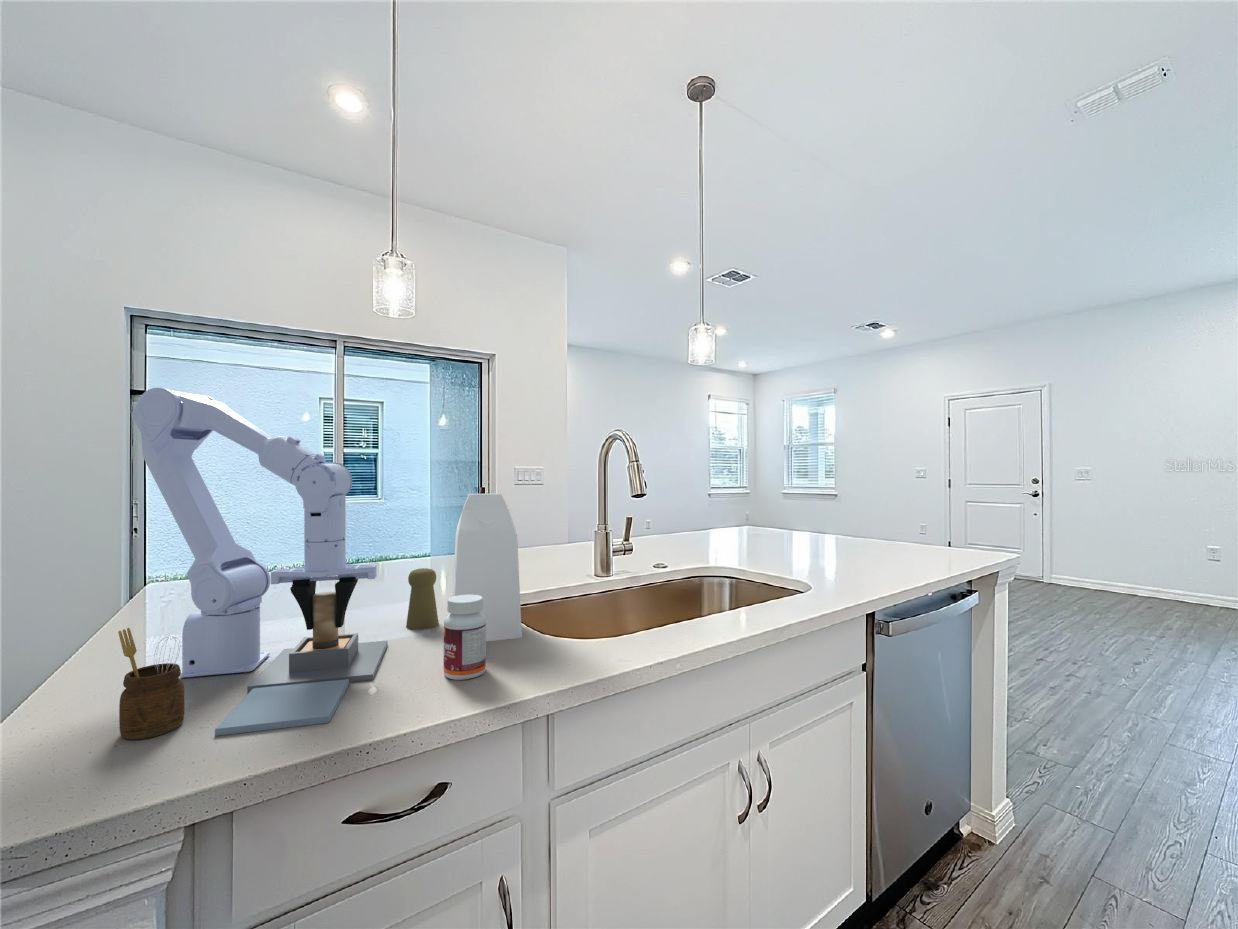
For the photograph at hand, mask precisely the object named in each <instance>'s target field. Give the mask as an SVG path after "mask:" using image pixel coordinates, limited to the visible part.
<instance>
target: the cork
mask: <svg viewBox="0 0 1238 929" xmlns="http://www.w3.org/2000/svg"><path fill="white" fill-rule="evenodd" d="M436 573H437V572H436V571H435V570H434V569H433V568H432V569H431V568H427V567H424V568H421V567H420V568H417V569H413V570H411V571H410V572H409V574H408V577H407V579H408V581H407V582H408V584H409V586H410V587H411V588H410V596H409V603H408V611H407V617H406V626H405V627H406V628H407V629H409V630H414V631H416V630H417V631H418V630H419V631H420V630H422V631H423V630H428V629H433V628H435V627H437V626H439V624H440V623H439V617H438V616H439V615H438V610H437V608H438V607H437V602H436V594H435V586H434V585H435V584H436V582H437V574H436Z"/></svg>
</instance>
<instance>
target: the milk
mask: <svg viewBox="0 0 1238 929" xmlns="http://www.w3.org/2000/svg"><path fill="white" fill-rule="evenodd" d="M518 541H519V540H518V534H517V531H516V527H515V524H514V521H513V518H512V516H511V513H510V509H509V508H508V505H507V503H506V501H505V499H504V496H503V494H502V493H501V492H500V493H499V492H497V493H496V492H495V493H468V495H467V498H466V500H465V502H464V505H463V508H462V510H461V513H460V516H459V519H458V523H457V526H456V529H455V538H454V559H453V560H454V562H453V564H454V566H453V580H452V581H453V585H452V597H454V596H458V595H479V596H482V597H483V610H481V611H479V612H481V613H483V614H484V616H485V618H486V642H490V641H491V642H494V641H502V640H513V639H522V638H523V633H522V631H523V630H522V614H521V613H522V611H521V608H522V607H521V589H520V588H521V587H520V565H519V548H518V547H519V546H518V545H519V543H518Z"/></svg>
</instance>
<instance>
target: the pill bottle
mask: <svg viewBox="0 0 1238 929" xmlns="http://www.w3.org/2000/svg"><path fill="white" fill-rule="evenodd" d="M481 610H483V597H482V596H479V595H458V596H454V597H453V596H451V597H449V598H448V599H447V610H446V611H447V612H448V615H447V616H446V617H444V621H443V674H444V676H445V677H446V678H447V679H450V680H454V681H455V680H457V681H458V680H459V681H464V680H469V679H470V678H471V679H474V678H478V677H479V676H481V675H483V674H484V673H485V671H486V669H487V668H486V667H487V664H486V663H487V641H486V618H485V616H484V614H483V613H481V612H479V611H481Z"/></svg>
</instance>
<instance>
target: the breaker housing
mask: <svg viewBox="0 0 1238 929" xmlns="http://www.w3.org/2000/svg"><path fill="white" fill-rule="evenodd" d="M338 637H339V639H343V638H350V641H349V642H348V644H347V645H346V647H345V648H338V649H327V650H315V651H303V652H300V651H301V650H302V649H303V648H304V647H305V646H306V644H307V643H308V642H309V641H313V636H305V637H303V638H302V639H301V640H300V641H299V643H297V644H296V646H295V647H291V648H283V650H281V652H279V654H278V655H277V656H276V657H275V658H274V659H273V660H272V661H271V662H269V663H268V665H267V666H266V667H265V668H264V669H263V670H262V671H261V672H260V673H259V674H258V675H257V676H256V677H255V678H254V679H253V680H252V681H251V682H250V683H249V684H248V685H247V693H249V692H250V691H251V690H252V689H253V688H263V687H273V686H283V685H294V684H304V683H314V682H324V681H334V680H345V679H349V683H354V681H355V682H365V681H373V680H374V678H375V676H376V674H377V671H378V669H379V666H380V664H381V662H382V659H383V657H384V655H385V652H386V649H387V648H388V640H381V641H380V640H379V641H369V642H368V641H366V642H364V641H363V642H359V632H358V633H357V632H356V633H355V632H354V633H346V634H345V633H343V634H338ZM380 661H381V662H380Z"/></svg>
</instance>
